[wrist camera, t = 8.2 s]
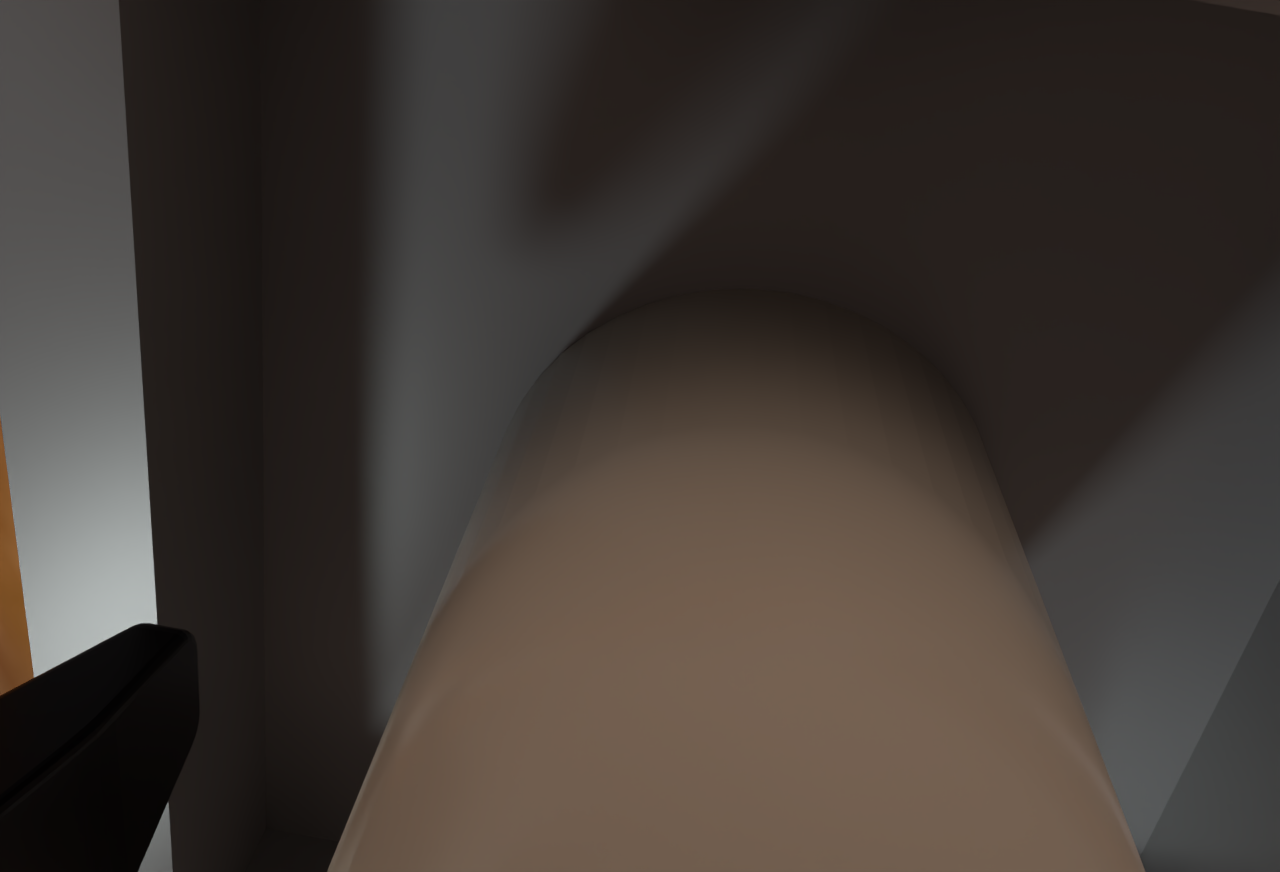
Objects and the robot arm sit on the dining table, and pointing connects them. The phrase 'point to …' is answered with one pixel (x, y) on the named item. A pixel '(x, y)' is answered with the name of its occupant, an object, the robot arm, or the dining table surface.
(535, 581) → the cream jar
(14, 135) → the serving tray
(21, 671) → the dining table surface
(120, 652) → the robot arm
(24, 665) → the dining table surface
